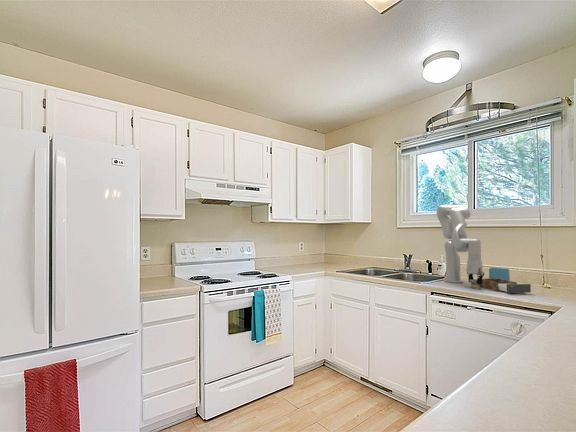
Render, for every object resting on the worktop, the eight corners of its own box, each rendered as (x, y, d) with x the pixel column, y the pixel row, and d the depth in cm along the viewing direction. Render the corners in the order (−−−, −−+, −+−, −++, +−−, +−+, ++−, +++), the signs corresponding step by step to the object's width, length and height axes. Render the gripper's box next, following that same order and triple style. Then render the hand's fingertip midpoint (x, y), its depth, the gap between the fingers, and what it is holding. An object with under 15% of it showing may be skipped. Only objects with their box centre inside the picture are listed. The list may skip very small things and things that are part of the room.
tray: (530, 292, 191) (530, 284, 191) (508, 292, 189) (508, 284, 189) (509, 287, 207) (509, 279, 207) (488, 287, 205) (488, 280, 206)
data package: (509, 284, 222) (509, 268, 222) (509, 285, 218) (508, 268, 219) (489, 283, 229) (489, 266, 230) (489, 283, 226) (488, 267, 226)
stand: (469, 287, 212) (469, 282, 212) (476, 287, 213) (475, 282, 213) (474, 288, 208) (474, 283, 208) (481, 288, 208) (480, 283, 208)
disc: (467, 281, 213) (467, 278, 213) (476, 281, 214) (476, 278, 214) (473, 283, 207) (473, 280, 207) (483, 283, 207) (483, 280, 207)
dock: (517, 290, 200) (516, 282, 200) (497, 291, 199) (496, 282, 199) (498, 286, 216) (497, 278, 216) (479, 286, 215) (479, 278, 215)
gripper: (461, 256, 219) (461, 281, 219) (478, 258, 202) (479, 285, 201) (471, 256, 220) (471, 280, 219) (489, 258, 203) (489, 285, 202)
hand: (475, 282), depth 210 cm, fingers open, 7 cm apart
